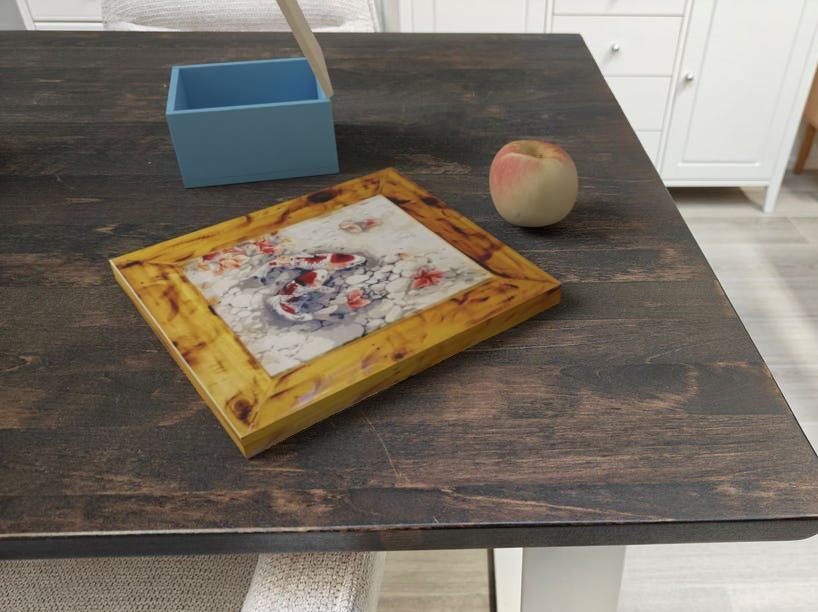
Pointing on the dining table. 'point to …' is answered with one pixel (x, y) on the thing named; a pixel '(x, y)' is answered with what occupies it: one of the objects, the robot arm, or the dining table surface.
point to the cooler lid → (306, 42)
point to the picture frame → (326, 301)
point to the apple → (533, 183)
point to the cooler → (250, 122)
